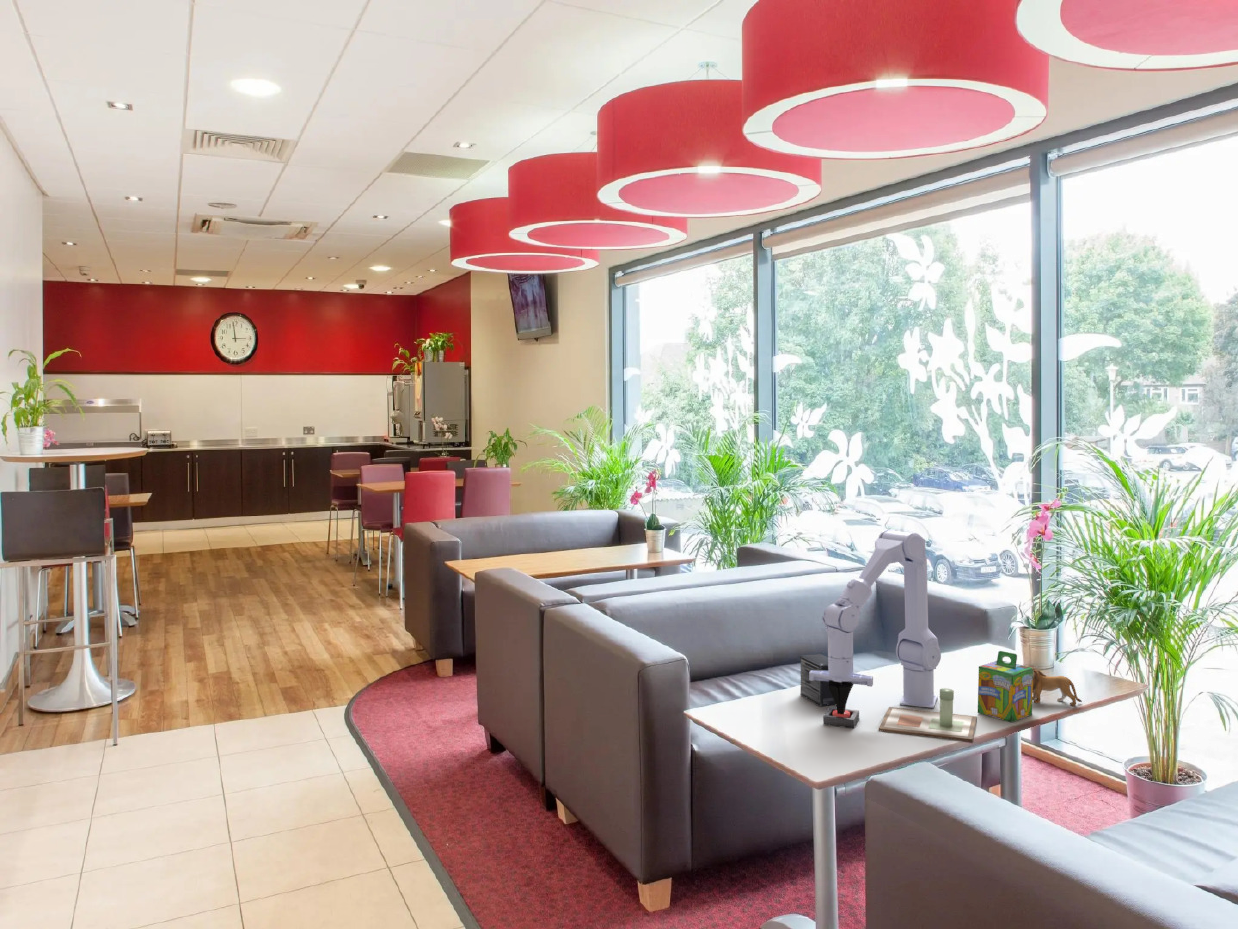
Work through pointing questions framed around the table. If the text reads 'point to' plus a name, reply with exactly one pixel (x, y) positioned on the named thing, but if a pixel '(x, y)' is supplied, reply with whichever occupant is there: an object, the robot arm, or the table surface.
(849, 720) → the button housing
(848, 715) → the button
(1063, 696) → the lion figurine
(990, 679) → the chalk box
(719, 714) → the table surface
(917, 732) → the framed sorting board
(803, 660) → the small box
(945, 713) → the sage marker
